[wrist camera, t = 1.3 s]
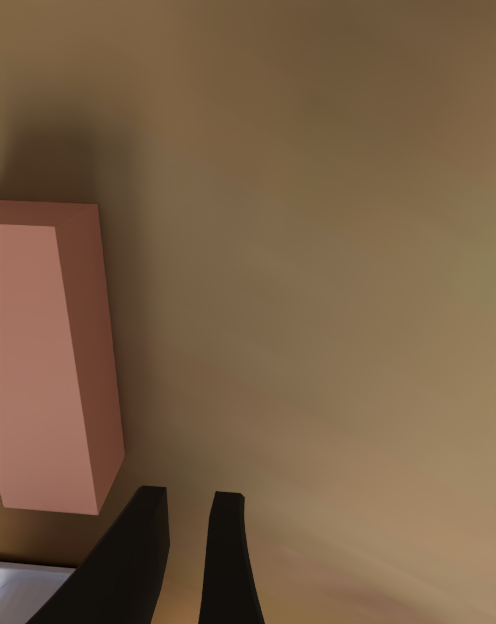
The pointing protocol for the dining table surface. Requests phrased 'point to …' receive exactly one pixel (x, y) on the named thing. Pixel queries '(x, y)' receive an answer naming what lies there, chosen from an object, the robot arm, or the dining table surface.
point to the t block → (56, 360)
